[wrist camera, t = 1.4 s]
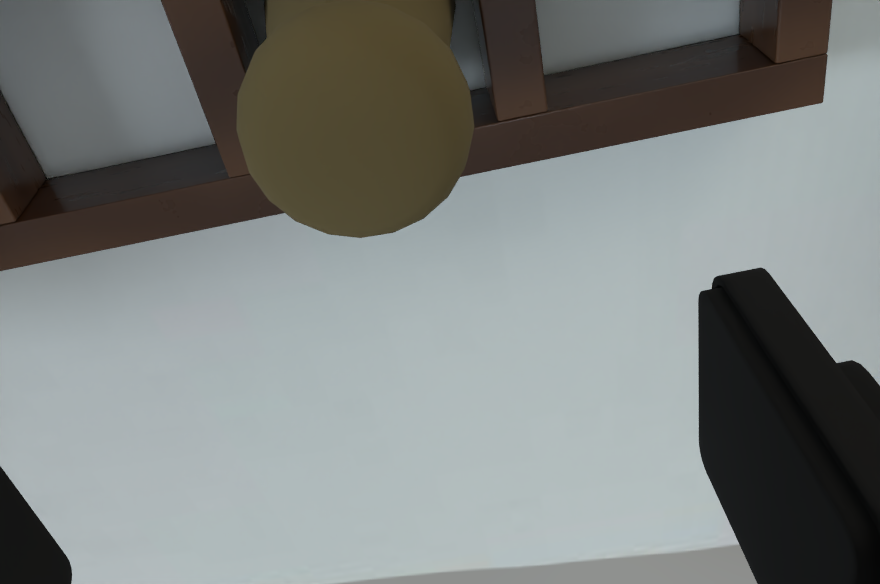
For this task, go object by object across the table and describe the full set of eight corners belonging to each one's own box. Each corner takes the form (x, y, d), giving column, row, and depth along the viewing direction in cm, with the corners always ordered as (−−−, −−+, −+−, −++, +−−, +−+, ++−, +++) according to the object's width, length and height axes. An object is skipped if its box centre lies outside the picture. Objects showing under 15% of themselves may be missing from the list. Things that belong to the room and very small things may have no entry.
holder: (-146, -71, 23) (-207, -48, 21) (806, -290, 22) (862, -292, 19) (26, 226, 29) (-6, 273, 26) (783, 70, 28) (823, 103, 25)
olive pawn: (453, 96, 27) (494, 276, 18) (273, 98, 27) (225, 283, 18) (458, -99, 24) (512, 5, 15) (253, -100, 23) (179, 6, 14)
